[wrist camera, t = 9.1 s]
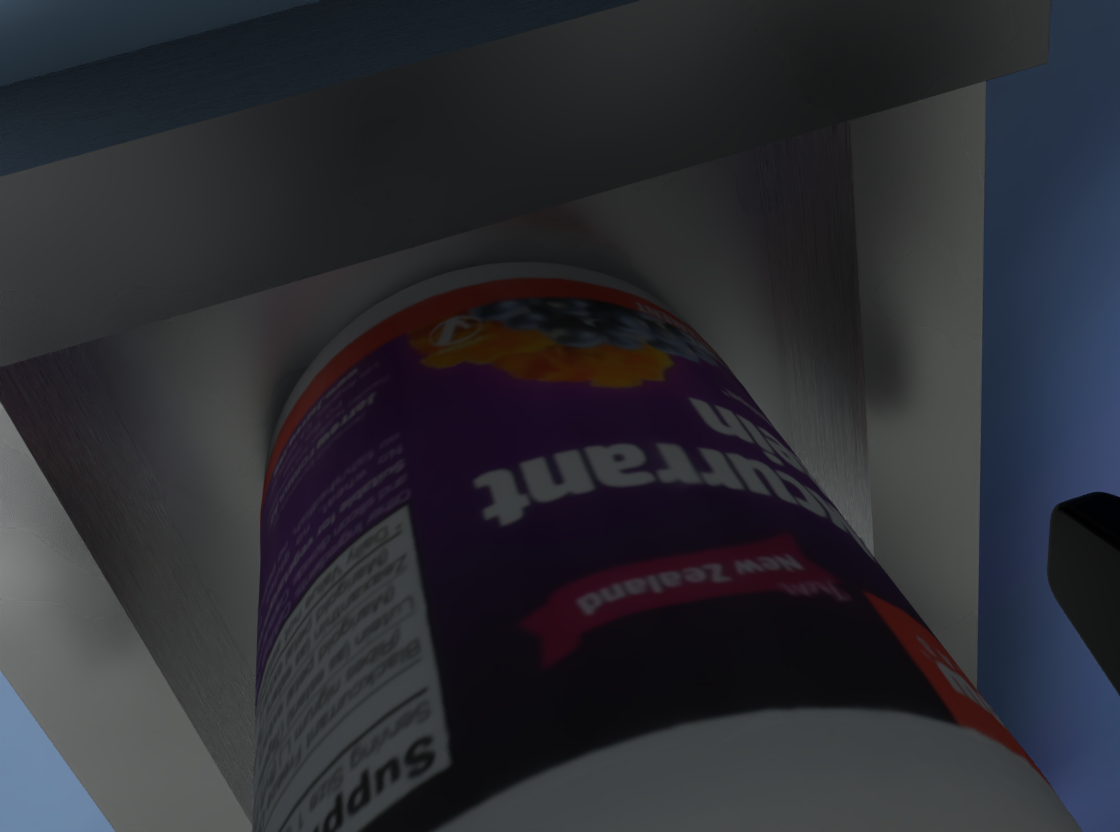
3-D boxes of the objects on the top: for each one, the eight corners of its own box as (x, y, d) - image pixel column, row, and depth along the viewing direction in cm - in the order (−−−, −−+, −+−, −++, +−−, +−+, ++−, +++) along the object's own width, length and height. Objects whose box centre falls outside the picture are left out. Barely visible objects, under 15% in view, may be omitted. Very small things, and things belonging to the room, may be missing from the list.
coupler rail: (901, -167, 10) (1164, -144, 7) (928, 872, 20) (1047, 1069, 17) (-261, 143, 9) (-511, 318, 6) (349, 1078, 19) (364, 1328, 16)
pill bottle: (812, 350, 12) (1859, 1454, 4) (590, 683, 14) (1014, 1886, 6) (381, 157, 10) (845, 1743, 2) (186, 585, 12) (7, 2280, 4)
